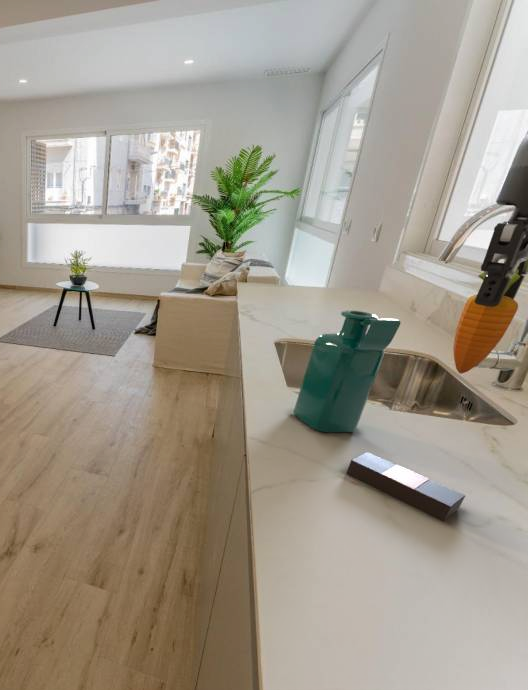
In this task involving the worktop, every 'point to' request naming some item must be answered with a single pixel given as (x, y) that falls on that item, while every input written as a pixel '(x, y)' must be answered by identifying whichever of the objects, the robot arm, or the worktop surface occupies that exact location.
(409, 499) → the snack bar
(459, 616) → the worktop surface
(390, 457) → the worktop surface
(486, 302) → the robot arm
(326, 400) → the pitcher
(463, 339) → the carrot
